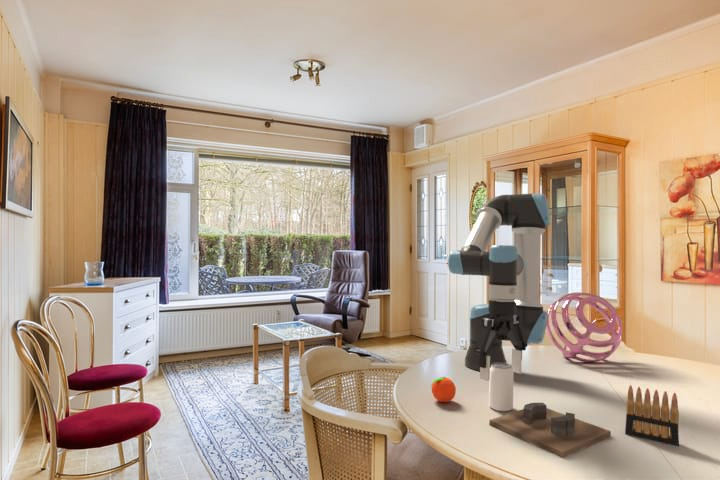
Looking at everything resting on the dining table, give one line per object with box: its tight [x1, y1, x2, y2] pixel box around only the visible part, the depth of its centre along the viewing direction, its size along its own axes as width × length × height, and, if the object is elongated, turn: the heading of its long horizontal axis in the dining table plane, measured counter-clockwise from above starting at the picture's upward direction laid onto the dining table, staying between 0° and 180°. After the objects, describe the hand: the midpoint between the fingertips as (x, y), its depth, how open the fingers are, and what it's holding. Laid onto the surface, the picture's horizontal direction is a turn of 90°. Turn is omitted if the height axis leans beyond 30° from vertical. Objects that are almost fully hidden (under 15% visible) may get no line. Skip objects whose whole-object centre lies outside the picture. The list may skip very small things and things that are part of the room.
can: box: [488, 362, 514, 413], centre depth 124 cm, size 6×6×12 cm
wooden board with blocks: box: [488, 402, 612, 458], centre depth 109 cm, size 20×20×5 cm
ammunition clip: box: [624, 384, 680, 447], centre depth 106 cm, size 11×2×12 cm, turn 56°
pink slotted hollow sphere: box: [546, 291, 623, 363], centre depth 178 cm, size 28×28×27 cm
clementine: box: [430, 376, 457, 403], centre depth 128 cm, size 8×7×7 cm
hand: (501, 375), depth 124 cm, fingers open, 13 cm apart
